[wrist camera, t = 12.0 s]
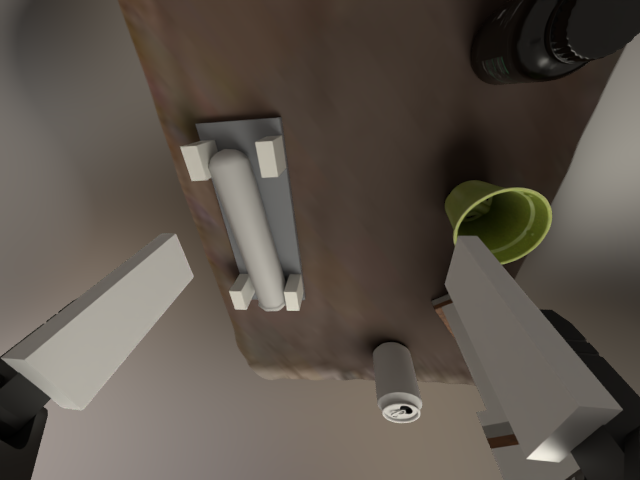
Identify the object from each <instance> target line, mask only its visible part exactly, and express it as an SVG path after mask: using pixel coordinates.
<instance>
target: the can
mask: <svg viewBox="0 0 640 480" xmlns="http://www.w3.org/2000/svg"><path fill="white" fill-rule="evenodd" d="M373 361H374V372H375V382H376V393H377V403H378V406H379V408H380V409H381V410H382V414H383V416H384V417H385V418H386V419H388V420H389V421H392V422H396V423H409V422H413V421H415V420H417V419H418V418H419V417H420V409H421V407H422V400H421V396H420V392H419V388H418V384H417V379H416V375H415V371H414V367H413V363H412V359H411V354H410V352H409V350H408V349H407V348H406V347H405V346H403V345H401V344H399V343H395V342H387V343H383V344H381V345H380V346H378V347H377V348H376V349H375V350H374V352H373Z"/></svg>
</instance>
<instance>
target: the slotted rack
mask: <svg viewBox="0 0 640 480" xmlns="http://www.w3.org/2000/svg"><path fill="white" fill-rule="evenodd" d="M196 128H197V131H198V135H199V138H200V141H198V142H195V143H191V144H188V145H185V146H181V147H180V148H181V151H182V154H183V157H184V159H185V162H186V165H187V168H188V171H189V174H190V177H191V180H192V181H201V180H208V179H210V178H212V177H211V174H210V171H209V169H208V167H209V164H210V160H211V158H212V157H213V156H214V155H215V154H216V153H218V152H219V151H221V150H223V149H236V150H238V151H241V152H242V153H243V154H245V155H246V156H247V157H248V158H249V159H250V163H251V166H252V169H253V173H254V176H255V180H256V183H257V186H258V190H259V193H260V197H261V200H262V203H263V207H264V210H265V214H266V217H267V220H268V224H269V227H270V231H271V234H272V237H273V241H274V244H275V248H276V251H277V254H278V258H279V261H280V264H281V268H282V271H283V275H284V278H285V281H286V287H285V290H284V296H285V301H286V306H287V311H299V310H300V306H301V301H302V300H305V297H306V296H305V288H304V281H303V274H302V266H301V259H300V251H299V244H298V237H297V229H296V222H295V214H294V207H293V200H292V192H291V185H290V177H289V170H288V163H287V155H286V148H285V140H284V133H283V126H282V118H281V117H276V118H263V119H249V120H236V121H223V122H210V123H198V124H196ZM212 182H213V179H212ZM213 185H214V182H213ZM214 189H215V192H216V195H217V199H218V202H219V205H220V209H221V212H222V216H223V219H224V222H225V226H226V229H227V232H228V236H229V239H230V243H231V246H232V249H233V253H234V256H235V259H236V263H237V266H238V270H239V273H240V274H239V276H238V278H237V279H236V281H235V282H234V284H233V286H232V287H231V289H230V291H229V292H230V295H231V298H232V301H233V304H234V307H235V309H243V310H247V308H248V305H249V303H250V301H251V299H258V298H257V295H256V293H255V290H254V287H253V285H252V282H251V280H250V277H249V274H248V272H247V269H246V266H245V264H244V261H243V258H242V256H241V253H240V251H239V248H238V245H237V243H236V240H235V237H234V235H233V232H232V229H231V227H230V224H229V221H228V219H227V216H226V214H225V211H224V208H223V206H222V203H221V200H220V198H219V195H218V192H217V190H216V187H215V185H214Z"/></svg>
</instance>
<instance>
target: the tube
mask: <svg viewBox="0 0 640 480" xmlns="http://www.w3.org/2000/svg"><path fill="white" fill-rule="evenodd" d="M208 169H209V171H210V174H211V177H212V179H213V182H214V185H215V187H216V190H217V192H218V195H219V198H220V200H221V203H222V206H223V208H224V211H225V214H226V216H227V219H228V221H229V224H230V227H231V229H232V232H233V235H234V237H235V240H236V243H237V245H238V248H239V251H240V253H241V256H242V258H243V261H244V264H245V266H246V269H247V272H248V274H249V277H250V280H251V282H252V285H253V287H254V290H255V293H256V295H257V298H258V301H259V303H258V305H259V307H261V308H262V309H264V310H265V311H279V310H280V309H281V308H283V307H284V306H285V305H286V301H285V296H284V290H285V287H286V281H285V278H284V275H283V271H282V268H281V264H280V261H279V258H278V254H277V251H276V248H275V244H274V241H273V237H272V234H271V231H270V227H269V224H268V220H267V217H266V214H265V210H264V207H263V203H262V200H261V197H260V193H259V190H258V186H257V183H256V180H255V176H254V173H253V169H252V166H251V163H250V159H249V158H248V157H247V156H246V155H245V154H243V153H242V152H241V151H238V150H236V149H223V150H221V151H219V152H218V153H216V154H215V155H214V156H213V157H212V158H211V160H210V164H209V167H208Z"/></svg>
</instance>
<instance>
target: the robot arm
mask: <svg viewBox="0 0 640 480" xmlns="http://www.w3.org/2000/svg"><path fill="white" fill-rule="evenodd" d="M193 277H194V276H193V273H192V271H191V269H190V266H189V264H188V261H187V259H186V257H185V255H184V252H183V250H182V247H181V245H180V242H179V240H178V238H177V235H176V234H160V235H159V236H158V237H156V238H155V239H154V240H153V241H151V242H150V243H149V244H147V245H146V246H145V247H144V248H142V249H141V250H140V251H138V252H137V253H136V254H135V255H133V256H132V257H131V258H129V259H128V260H127V261H125V262H124V263H123V264H122V265H120V266H119V267H118V268H116V269H115V270H114V271H112V272H111V273H110V274H109V275H107V276H106V277H105V278H103V279H102V280H101V281H100V282H98V283H97V284H96V285H94V286H93V287H92V288H90V289H89V290H88V291H87V292H85V293H84V294H83V295H82V296H80V297H79V298H77V299H76V300H74V301H72V302H71V303H70V304H68V305H67V306H66V307H64V308H63V309H62V310H60V311H59V312H58V314H55V315H54V316H53V317H51V318H50V319H49V320H47V322H46V323H45V324H42V325H41V326H40V327H38V328H37V329H36V330H34V331H33V332H32V333H30V334H29V335H28V336H27V337H25V338H24V339H23V340H21V341H20V342H19V343H18V344H16V345H15V346H14V347H12V348H11V349H10V350H8V351H7V352H6V353H4V354H3V355H2V356H1V357H0V480H31V477H32V473H33V469H34V466H35V462H36V458H37V454H38V450H39V447H40V443H41V439H42V435H43V431H44V428H45V424H46V420H47V416H48V411H47V409H46V408H44V407H43V406H44V405H45V404H46V403H47V402H48V401H49V400H50V399H52V400H53V401H54V402H55V403H57V404H58V405H59V406H60V407H62V408H66V409H75V410H84V408H85V407H86V406H87V405H88V404H89V402H90V401H91V400H92V399H93V398H94V396H95V395H96V394H97V393H98V392H99V390H100V389H101V388H102V387H103V386H104V384H105V383H106V382H107V381H108V380H109V378H110V377H111V376H112V375H113V373H114V372H115V371H116V370H117V369H118V368H119V366H120V365H121V364H122V363H123V361H124V360H125V359H126V358H127V357H128V355H129V354H130V353H131V352H132V351H133V349H134V348H135V347H136V346H137V345H138V343H139V342H140V341H141V340H142V339H143V337H144V336H145V335H146V334H147V332H148V331H149V330H150V329H151V328H152V326H153V325H154V324H155V323H156V321H158V319H159V318H160V317H161V316H162V315H163V313H164V312H165V311H166V310H167V309H168V307H169V306H170V305H171V304H172V302H173V301H174V300H175V299H176V298H177V297H178V295H179V294H180V293H181V292H182V291H183V289H184V288H185V287H186V286H187V284H188V283H189V282H190V281H191V280H192V278H193ZM445 286H446V289H447V291H448V293H449V295H450V297H451V299H452V301H453V304H454V306H455V308H456V310H457V312H458V314H459V316H460V318H461V321H462V323H463V325H464V327H465V329H466V331H467V333H468V336H469V338H470V340H471V342H472V344H473V346H474V348H475V351H476V353H477V355H478V357H479V359H480V361H481V363H482V365H483V368H484V370H485V372H486V374H487V376H488V378H489V380H490V383H491V385H492V387H493V389H494V391H495V393H496V395H497V397H498V400H499V402H500V404H501V406H502V408H503V410H504V412H505V415H506V417H507V419H508V421H509V423H510V425H511V427H512V430H513V432H514V434H515V436H516V438H517V440H518V442H519V444H520V447H521V449H522V451H523V453H524V455H525V457H526V459H532V460H541V461H550V462H560V461H562V460H563V459H564V458H565V457H566V456H568V455H569V454H570V453H571V454H572V456H573V457H574V459H575V461H576V462H577V464H578V466H579V467H580V469H579V470H577V471H576V472H575V473H573V474H572V475H571V476H569V477H568V478H566V479H565V480H640V397H639V396H638V395H637V394H636V393H635V391H634V390H633V389H632V388H631V387H630V386H629V385H628V384H627V383H626V382H625V381H624V380H623V379H622V377H621V376H620V375H619V374H618V373H617V372H616V371H615V370H614V369H613V368H612V367H611V366H610V365H609V363H608V362H607V361H606V360H605V359H604V358H603V357H600V356H599V353H598V352H597V350H596V349H595V348H594V347H593V346H592V345H591V344H590V343H587V342H586V339H585V337H584V336H583V335H582V334H581V333H580V332H579V331H578V330H577V329H576V328H575V327H574V326H573V325H572V324H571V323H570V322H569V321H567V320H566V319H564V318H563V317H561V316H560V315H558V314H557V313H556V312H554V311H553V310H540V309H538V308H537V306H536V305H535V304H534V303H533V302H532V301H531V299H530V298H529V297H528V296H527V295H526V294H525V292H524V291H523V290H522V289H521V287H520V286H519V285H518V284H517V283H516V282H515V280H514V279H513V278H512V277H511V276H510V274H509V273H508V272H507V271H506V270H505V268H504V267H503V266H502V265H501V264H500V262H499V261H498V260H497V259H496V258H495V256H494V255H493V254H492V253H491V252H490V250H489V249H488V248H487V247H486V246H485V245H484V243H483V242H482V241H481V240H480V239H479V237H478V236H458V238H457V242H456V245H455V249H454V252H453V256H452V260H451V263H450V267H449V270H448V274H447V278H446V281H445Z"/></svg>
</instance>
